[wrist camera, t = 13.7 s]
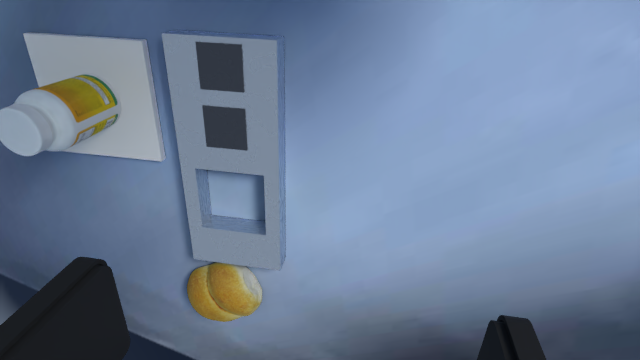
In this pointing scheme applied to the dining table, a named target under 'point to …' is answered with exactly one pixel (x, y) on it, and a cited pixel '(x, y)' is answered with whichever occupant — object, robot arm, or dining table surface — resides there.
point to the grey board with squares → (230, 137)
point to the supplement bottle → (59, 115)
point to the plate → (121, 73)
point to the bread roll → (224, 291)
